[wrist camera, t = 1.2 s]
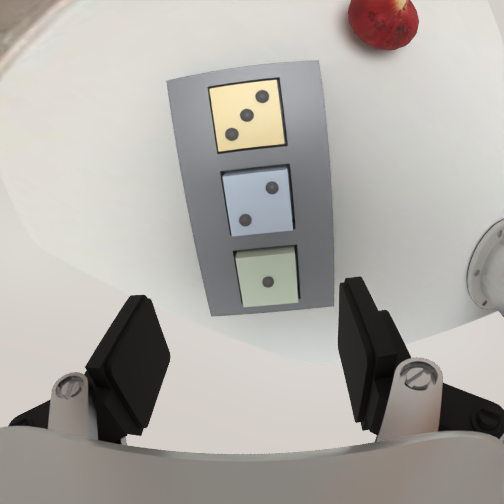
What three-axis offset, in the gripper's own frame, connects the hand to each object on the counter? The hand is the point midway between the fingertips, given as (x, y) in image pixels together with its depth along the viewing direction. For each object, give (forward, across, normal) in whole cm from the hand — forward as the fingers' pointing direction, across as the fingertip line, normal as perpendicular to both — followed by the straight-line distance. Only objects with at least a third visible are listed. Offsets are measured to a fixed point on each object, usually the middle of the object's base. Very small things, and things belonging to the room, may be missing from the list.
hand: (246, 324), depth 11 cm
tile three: (+17, 0, -7) cm, 19 cm away
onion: (+20, -12, -15) cm, 28 cm away
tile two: (+17, 0, 0) cm, 17 cm away
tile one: (+17, 0, +7) cm, 19 cm away
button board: (+20, 0, 0) cm, 20 cm away
